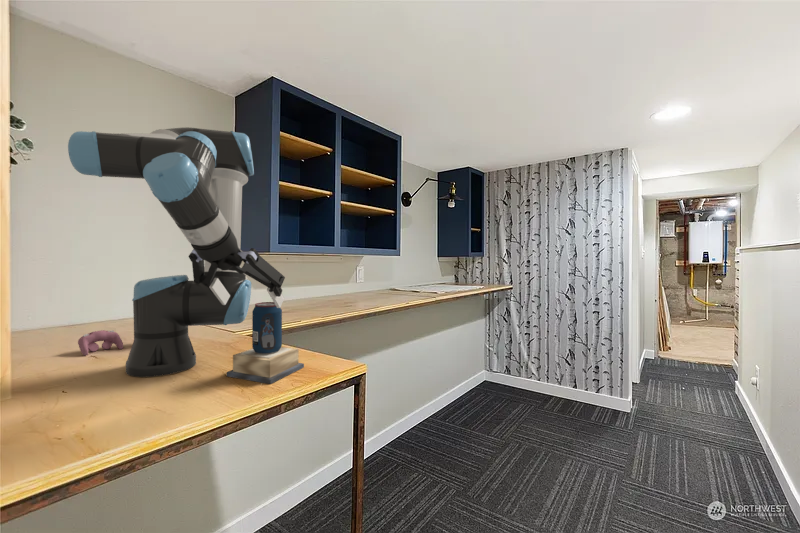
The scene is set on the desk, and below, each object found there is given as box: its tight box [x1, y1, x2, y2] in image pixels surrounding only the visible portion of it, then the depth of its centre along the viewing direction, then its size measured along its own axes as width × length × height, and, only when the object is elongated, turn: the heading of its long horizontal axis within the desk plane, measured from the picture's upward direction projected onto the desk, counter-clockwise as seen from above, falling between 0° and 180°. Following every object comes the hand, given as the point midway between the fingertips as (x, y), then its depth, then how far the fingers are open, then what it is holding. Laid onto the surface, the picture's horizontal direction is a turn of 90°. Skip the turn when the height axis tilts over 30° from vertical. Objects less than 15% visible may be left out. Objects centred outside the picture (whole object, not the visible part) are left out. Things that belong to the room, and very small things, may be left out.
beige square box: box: [226, 346, 305, 385], centre depth 94 cm, size 13×13×5 cm
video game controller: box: [77, 329, 124, 357], centre depth 109 cm, size 10×5×7 cm, turn 146°
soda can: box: [251, 301, 283, 354], centre depth 94 cm, size 7×7×12 cm
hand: (253, 301), depth 87 cm, fingers open, 13 cm apart
